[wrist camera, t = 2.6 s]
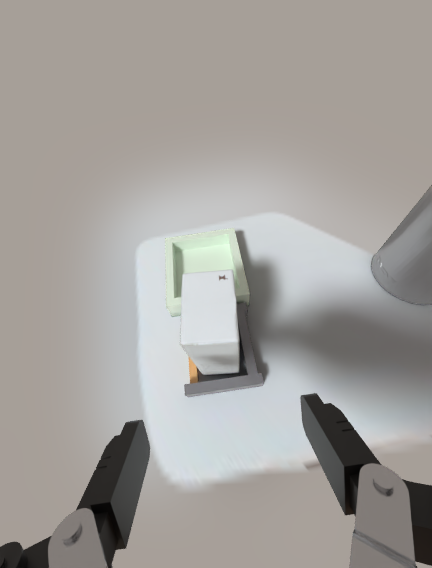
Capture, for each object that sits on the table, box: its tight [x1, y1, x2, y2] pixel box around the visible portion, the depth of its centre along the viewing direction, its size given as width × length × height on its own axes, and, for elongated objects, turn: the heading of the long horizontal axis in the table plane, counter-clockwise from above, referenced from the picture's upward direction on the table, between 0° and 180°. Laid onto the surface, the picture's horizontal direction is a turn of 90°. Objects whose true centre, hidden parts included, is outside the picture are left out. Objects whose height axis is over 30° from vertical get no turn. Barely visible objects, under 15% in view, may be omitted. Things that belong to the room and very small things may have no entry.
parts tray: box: [165, 228, 250, 317], centre depth 31 cm, size 10×11×3 cm
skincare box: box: [180, 269, 239, 375], centre depth 22 cm, size 6×4×12 cm
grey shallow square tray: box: [184, 302, 264, 397], centre depth 26 cm, size 8×9×2 cm
